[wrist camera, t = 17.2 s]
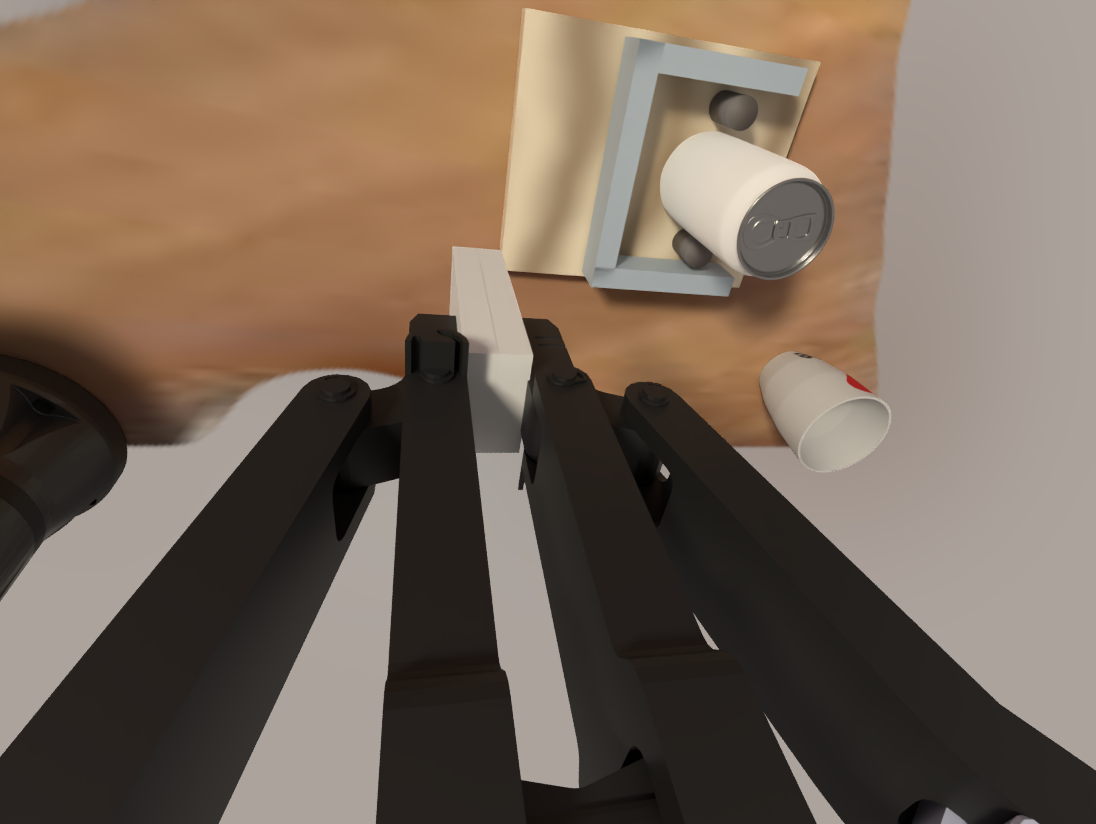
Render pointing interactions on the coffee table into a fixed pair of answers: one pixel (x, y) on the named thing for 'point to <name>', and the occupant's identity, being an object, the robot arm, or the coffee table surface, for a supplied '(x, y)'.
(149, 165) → the coffee table surface
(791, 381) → the cup
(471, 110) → the coffee table surface
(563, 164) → the base plate
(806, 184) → the can
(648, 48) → the grey frame
